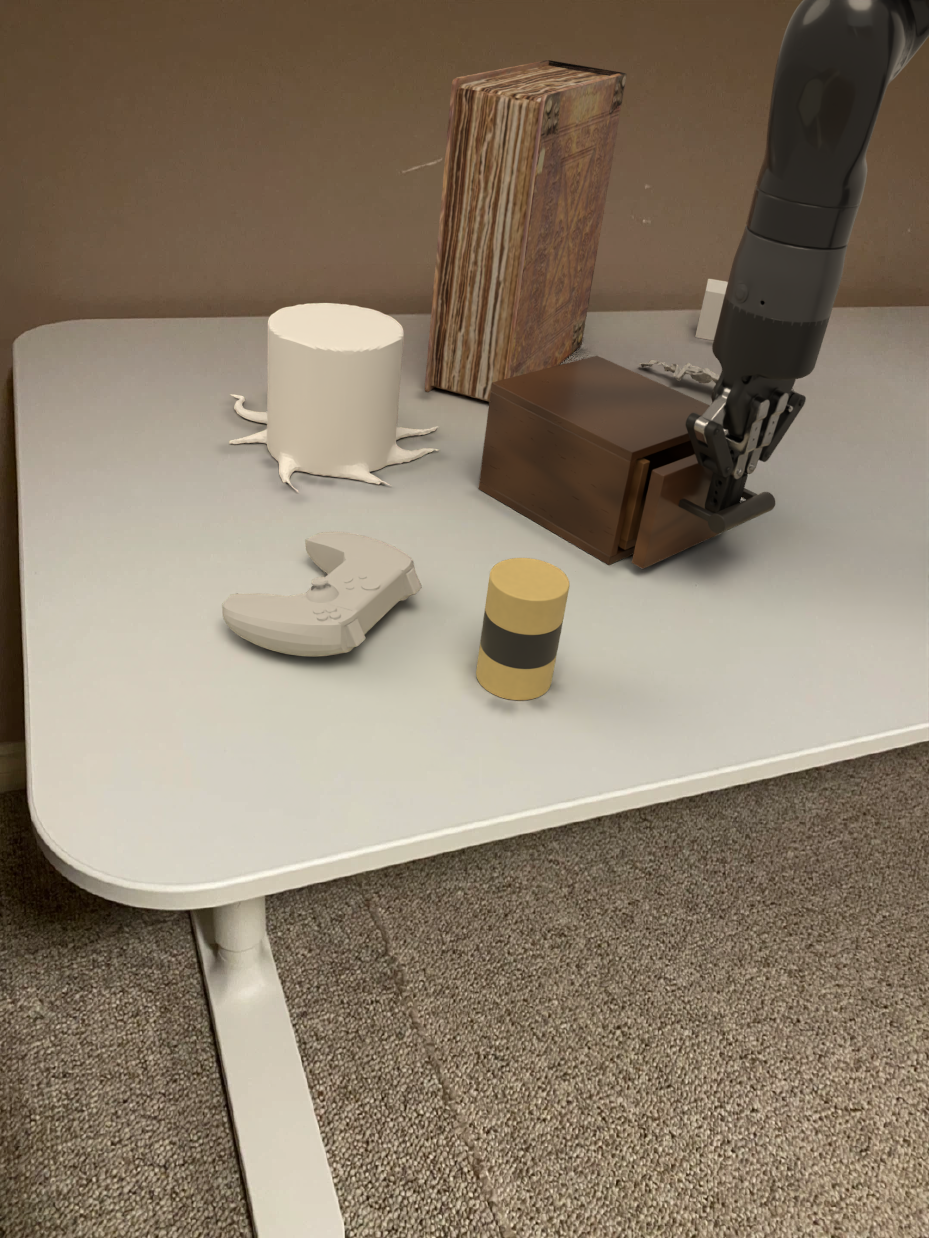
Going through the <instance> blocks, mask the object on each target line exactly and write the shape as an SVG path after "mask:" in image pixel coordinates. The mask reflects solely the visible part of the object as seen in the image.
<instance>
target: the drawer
mask: <svg viewBox="0 0 929 1238" xmlns="http://www.w3.org/2000/svg"><path fill="white" fill-rule="evenodd" d="M712 475H713V471H711V470H709V469H707V468H705V467H703V466H701V465H699V464H698V461H697V458H696V455H695V452H694V449H693V446H692V443H691V440H690V441H687V442H684V443H681V444H678V445H676V446H673V447H670V448H667V449H664V450H662V451H659V452H656V453H653V454H650V455H648V456H645V457H642V458H639V459H636V465H635V469H634V474H633V479H632V483H631V488H630V493H629V498H628V502H627V507H626V512H625V517H624V521H623V526H622V531H621V535H620V540H619V545H618V546H619V547H621V548H623V549H624V550H626V549H629V548H631V547H633V546H635V550H634V554H633V555H632V558H631V564H633V565H635V566H637V567H638V568H640V569H642V570H644V569H646V568H648V567H651V566H653V565H655V564H657V563H659V562H661V561H664V560H665V559H667V558H670V557H672V556H675V555H677V554H679V553H681V552H683V551H685V550H687V549H691V548H692V547H694V546H696V545H699V544H700V543H703V542H706V541H708V540H710V539H712V538H714V537H716V536H718V535H721V534H722V533H725V532H727V531H729V530H731V529H734V528H736V527H738V526H740V525H742V524H745V523H746V522H749V521H751V520H754V519H755V518H757V517H758V518H759V517H760V516H762V515H765V514H766V513H769V512H771V511H772V510H774V509H775V507H776V498H775V496H774V495H773V494H772V493H771V492H769V491H763V492H759V493H756V492H754V491H752V490H750V489H748V488H745V487H744V490H743V494H742V497H741V499H744V500H741V501H740V502H739V503H737V504H735V505H732V506H730V507H728V508H726V509H723V510H721V511H719V512H716V513H712V512H710V511H708V510H706V509H705V501H706V498H707V494H708V490H709V486H710V482H711V479H712Z"/></svg>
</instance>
